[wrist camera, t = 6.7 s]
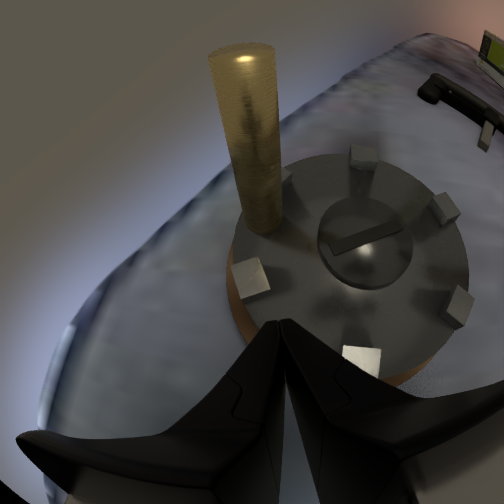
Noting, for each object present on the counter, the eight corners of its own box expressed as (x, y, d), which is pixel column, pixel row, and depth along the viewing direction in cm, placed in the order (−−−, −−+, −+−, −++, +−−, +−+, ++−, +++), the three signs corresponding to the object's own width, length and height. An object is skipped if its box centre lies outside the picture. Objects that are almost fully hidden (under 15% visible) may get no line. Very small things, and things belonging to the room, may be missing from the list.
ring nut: (285, 420, 14) (294, 532, 2) (215, 212, 22) (160, 48, 10) (477, 317, 15) (604, 219, 3) (383, 163, 23) (416, 29, 11)
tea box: (520, 98, 36) (533, 62, 24) (502, 89, 37) (515, 49, 24) (493, 72, 44) (503, 38, 31) (474, 64, 44) (483, 28, 32)
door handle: (521, 168, 21) (521, 125, 24) (409, 90, 29) (434, 67, 33) (511, 182, 24) (515, 138, 27) (405, 107, 32) (431, 81, 35)
